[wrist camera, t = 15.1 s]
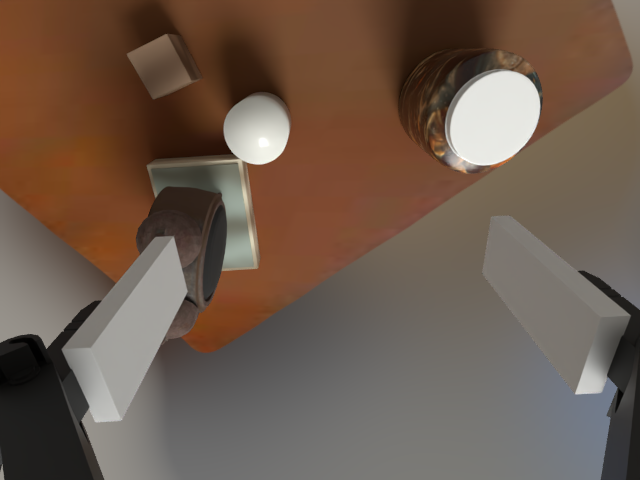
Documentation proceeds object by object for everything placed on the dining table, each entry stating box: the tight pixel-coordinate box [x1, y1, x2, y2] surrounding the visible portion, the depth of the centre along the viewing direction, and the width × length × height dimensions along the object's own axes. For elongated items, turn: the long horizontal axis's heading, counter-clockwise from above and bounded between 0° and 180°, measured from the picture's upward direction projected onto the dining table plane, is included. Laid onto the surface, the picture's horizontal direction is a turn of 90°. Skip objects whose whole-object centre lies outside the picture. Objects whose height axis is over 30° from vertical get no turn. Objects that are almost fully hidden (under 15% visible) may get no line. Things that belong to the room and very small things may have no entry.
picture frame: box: [147, 154, 260, 271], centre depth 53 cm, size 16×12×3 cm
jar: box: [399, 48, 543, 174], centre depth 42 cm, size 12×12×15 cm
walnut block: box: [127, 34, 202, 99], centre depth 44 cm, size 5×5×5 cm
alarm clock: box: [136, 186, 227, 346], centre depth 43 cm, size 14×7×20 cm, turn 171°
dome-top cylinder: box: [224, 92, 291, 164], centre depth 45 cm, size 7×7×8 cm
